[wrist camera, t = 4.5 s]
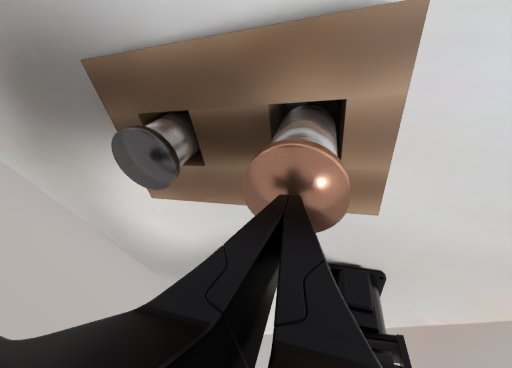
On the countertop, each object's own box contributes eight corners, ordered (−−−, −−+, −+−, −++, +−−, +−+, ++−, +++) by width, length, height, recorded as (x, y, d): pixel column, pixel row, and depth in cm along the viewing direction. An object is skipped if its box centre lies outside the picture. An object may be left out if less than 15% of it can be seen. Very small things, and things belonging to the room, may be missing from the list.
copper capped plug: (340, 162, 15) (344, 239, 9) (276, 162, 16) (250, 228, 11) (346, 95, 12) (357, 147, 7) (270, 101, 14) (232, 148, 8)
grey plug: (222, 147, 20) (182, 191, 14) (181, 147, 21) (131, 188, 16) (210, 97, 17) (156, 128, 12) (164, 101, 19) (98, 131, 13)
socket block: (370, 183, 18) (378, 215, 15) (174, 176, 24) (151, 197, 21) (404, 3, 12) (431, -5, 9) (124, 54, 18) (80, 60, 15)
